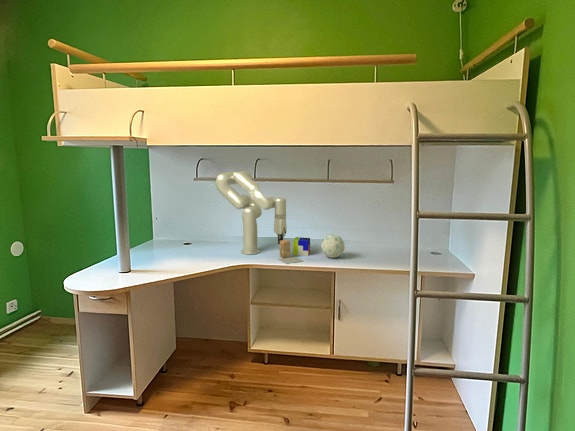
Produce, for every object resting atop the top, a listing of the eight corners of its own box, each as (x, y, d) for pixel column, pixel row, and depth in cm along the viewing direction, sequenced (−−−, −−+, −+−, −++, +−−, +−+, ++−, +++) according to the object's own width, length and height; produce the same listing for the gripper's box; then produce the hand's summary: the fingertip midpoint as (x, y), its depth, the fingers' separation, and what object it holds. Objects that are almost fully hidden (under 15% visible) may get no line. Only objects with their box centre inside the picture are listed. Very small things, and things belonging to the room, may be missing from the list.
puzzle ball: (338, 253, 268) (339, 232, 265) (348, 259, 253) (348, 236, 251) (317, 255, 263) (318, 233, 261) (326, 261, 249) (326, 238, 247)
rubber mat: (278, 259, 252) (278, 259, 252) (295, 257, 258) (295, 256, 258) (286, 263, 242) (286, 263, 242) (303, 261, 248) (303, 261, 248)
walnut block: (279, 256, 258) (279, 240, 257) (286, 256, 261) (286, 239, 259) (283, 258, 254) (283, 242, 252) (290, 257, 256) (290, 241, 255)
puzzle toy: (307, 255, 262) (307, 241, 261) (293, 254, 264) (293, 240, 262) (309, 252, 272) (310, 237, 270) (295, 251, 274) (295, 237, 272)
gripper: (270, 215, 264) (270, 242, 267) (280, 218, 251) (280, 246, 254) (280, 214, 267) (280, 241, 270) (291, 217, 254) (290, 245, 257)
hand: (280, 243), depth 262 cm, fingers closed
